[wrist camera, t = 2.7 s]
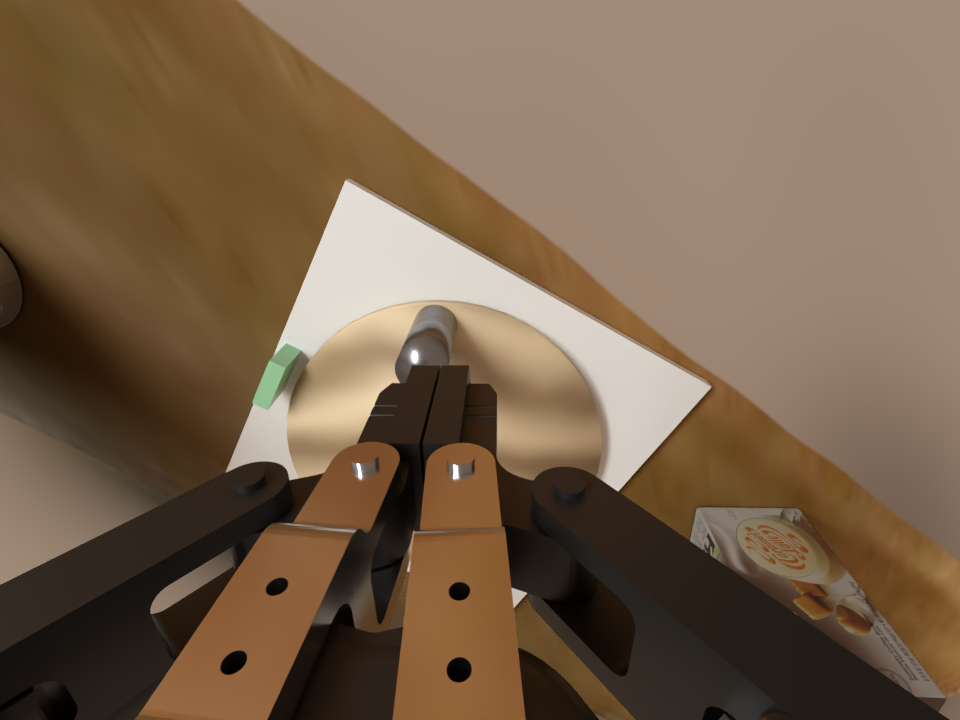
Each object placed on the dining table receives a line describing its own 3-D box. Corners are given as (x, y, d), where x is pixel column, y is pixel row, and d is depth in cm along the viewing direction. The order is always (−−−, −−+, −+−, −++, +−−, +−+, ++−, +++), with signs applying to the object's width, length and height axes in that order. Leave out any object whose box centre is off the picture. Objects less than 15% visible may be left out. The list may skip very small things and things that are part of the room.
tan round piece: (586, 559, 45) (602, 643, 38) (317, 553, 46) (283, 633, 39) (615, 299, 34) (645, 347, 27) (262, 299, 35) (201, 345, 28)
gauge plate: (223, 484, 45) (199, 516, 41) (349, 178, 33) (331, 185, 29) (508, 604, 50) (509, 642, 47) (706, 380, 38) (728, 407, 35)
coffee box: (684, 557, 46) (767, 754, 32) (696, 504, 44) (791, 695, 29) (785, 558, 46) (915, 759, 31) (803, 505, 43) (954, 699, 29)
